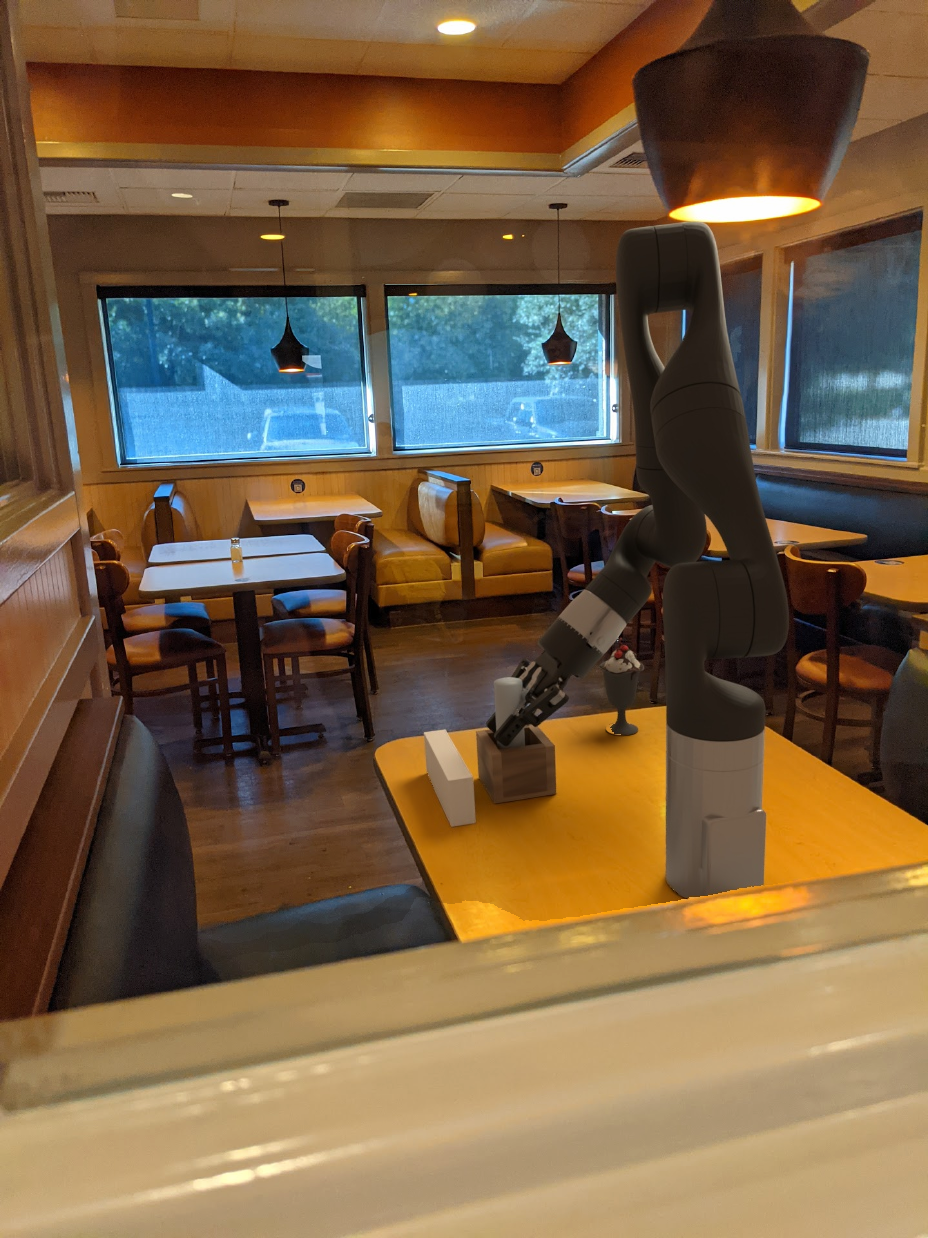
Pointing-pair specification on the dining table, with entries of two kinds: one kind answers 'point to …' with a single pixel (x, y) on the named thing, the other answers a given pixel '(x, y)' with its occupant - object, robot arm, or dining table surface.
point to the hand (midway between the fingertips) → (495, 735)
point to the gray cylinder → (508, 706)
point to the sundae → (622, 685)
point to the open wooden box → (517, 766)
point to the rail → (450, 778)
